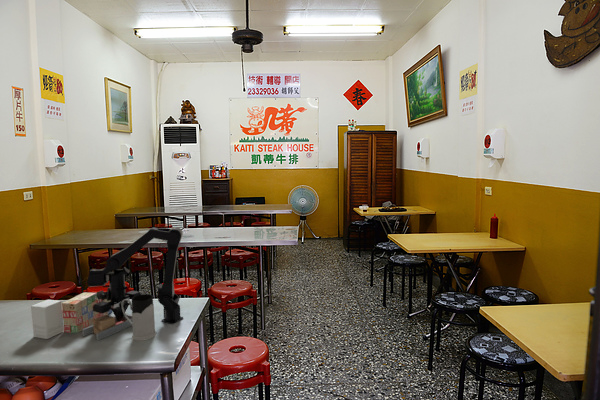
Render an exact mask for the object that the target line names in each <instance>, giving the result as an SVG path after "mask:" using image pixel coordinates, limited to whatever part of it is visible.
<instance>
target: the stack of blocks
mask: <svg viewBox="0 0 600 400" xmlns="http://www.w3.org/2000/svg"><path fill="white" fill-rule="evenodd" d="M99 302H102V299H99V300H98V298H97V292H86V291H85V292H84V291H83V292H82V293H80V294H77V295H75V296H74V297H72V298H70V299H67V300H65V301H63V302H61V304H62V316H63V328H64V331H63V333H70V334H71V333H72V334H73V333H75V334H78V333H80V332H82V329H84V328H87V327H89V326H92V325H93V320H94V319H97V318H99V317H102V316H104V315H108V316H109V315H110V314H112V313H113V311H112V310H111V309H110V311H108V312H105V313H98V312H95V311H93V306H94V304H96V303H99ZM103 302H110V300H109V301H108V300H107V299H105V300H103Z"/></svg>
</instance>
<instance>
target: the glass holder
mask: <svg viewBox="0 0 600 400" xmlns="http://www.w3.org/2000/svg"><path fill="white" fill-rule="evenodd" d="M124 300H127V301H128V303H129V304H130V305H129V308H130V310H131V315H132V322H131V321H130V320H129V318H128V317H127V316H126V314H127V313H126V312H125V311H124V307H123V302H124ZM124 300H123V301H122V303H121V306H122V311H123V314H124V316H125V318H126V319H127V320H128V321H129V322H130V323H131V324H132V325H131V326H132V336H131V339H132V340H134V341H146V340H150V339H153V338H154V337H155V336H156V335H157V331H156V328H155V327H156V326H155V325H156V324H155V323H156V322H155V306H154V296H153V295H151V294H141V295H138V296H135V297H133V298H132V299H124ZM125 313H126V314H125Z"/></svg>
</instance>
